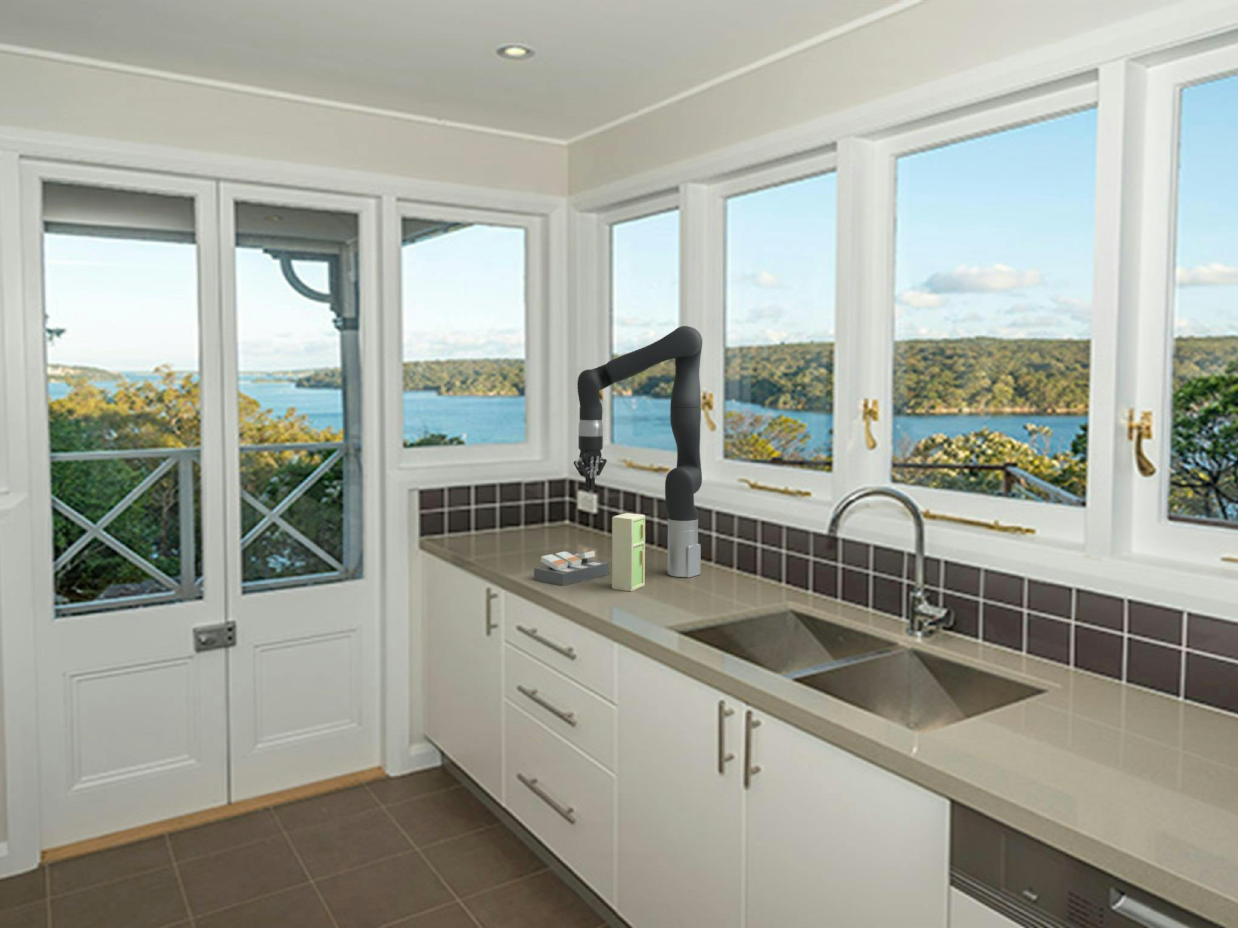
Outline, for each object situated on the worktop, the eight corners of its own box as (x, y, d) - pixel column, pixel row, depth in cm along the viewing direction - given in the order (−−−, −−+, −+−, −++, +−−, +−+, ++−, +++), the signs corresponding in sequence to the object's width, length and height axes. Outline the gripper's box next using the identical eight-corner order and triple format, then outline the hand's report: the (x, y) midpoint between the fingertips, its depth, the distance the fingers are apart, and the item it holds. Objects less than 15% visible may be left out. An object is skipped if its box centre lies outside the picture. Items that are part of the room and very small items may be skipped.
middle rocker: (580, 564, 284) (581, 559, 284) (570, 567, 281) (571, 561, 280) (564, 555, 288) (565, 550, 288) (554, 558, 285) (555, 552, 285)
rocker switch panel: (617, 572, 291) (617, 558, 290) (562, 585, 273) (562, 571, 272) (588, 566, 298) (588, 553, 298) (534, 579, 280) (534, 565, 280)
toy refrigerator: (633, 592, 265) (633, 518, 263) (611, 588, 269) (611, 516, 267) (647, 586, 272) (647, 514, 270) (625, 583, 276) (625, 512, 273)
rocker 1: (567, 568, 280) (568, 562, 279) (556, 570, 276) (557, 564, 276) (550, 558, 284) (551, 553, 283) (540, 561, 281) (541, 555, 280)
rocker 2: (595, 556, 288) (594, 550, 288) (585, 558, 285) (584, 552, 285) (579, 558, 293) (578, 553, 293) (569, 561, 290) (568, 555, 290)
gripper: (584, 436, 282) (583, 493, 284) (614, 434, 292) (613, 489, 294) (566, 434, 287) (566, 490, 289) (596, 432, 297) (596, 486, 299)
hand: (590, 489), depth 292 cm, fingers closed
